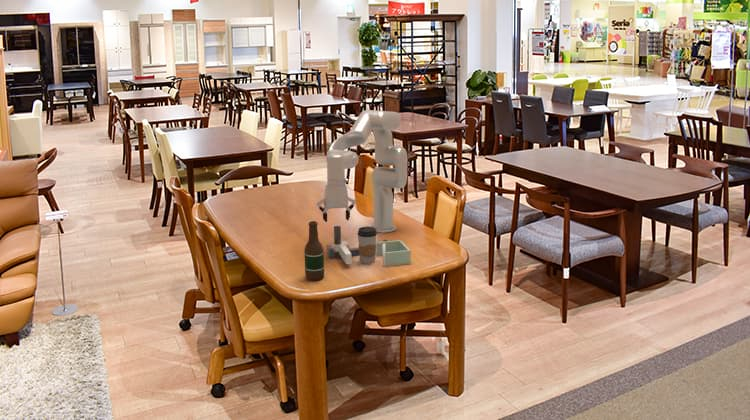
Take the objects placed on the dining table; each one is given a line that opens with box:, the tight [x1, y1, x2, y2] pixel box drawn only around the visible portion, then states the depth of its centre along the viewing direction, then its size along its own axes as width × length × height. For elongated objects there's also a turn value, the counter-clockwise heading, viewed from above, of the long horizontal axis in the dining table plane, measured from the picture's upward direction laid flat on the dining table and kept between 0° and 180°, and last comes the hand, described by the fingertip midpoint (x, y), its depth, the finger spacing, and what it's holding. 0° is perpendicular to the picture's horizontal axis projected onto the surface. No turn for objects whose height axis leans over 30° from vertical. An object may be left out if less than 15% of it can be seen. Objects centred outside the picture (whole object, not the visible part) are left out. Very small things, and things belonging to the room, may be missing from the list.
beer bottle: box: [303, 220, 325, 282], centre depth 284 cm, size 8×8×24 cm
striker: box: [332, 225, 353, 265], centre depth 303 cm, size 17×6×12 cm, turn 15°
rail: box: [326, 239, 388, 261], centre depth 313 cm, size 5×28×5 cm, turn 105°
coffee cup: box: [357, 226, 378, 265], centre depth 302 cm, size 8×8×15 cm
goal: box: [375, 235, 412, 268], centre depth 306 cm, size 15×12×10 cm
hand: (336, 220), depth 306 cm, fingers open, 9 cm apart
